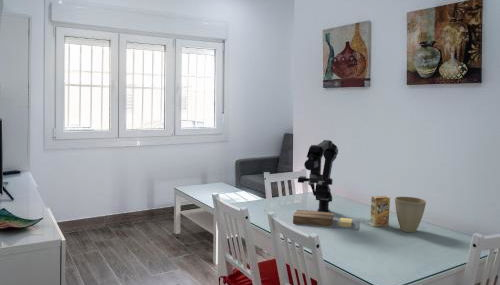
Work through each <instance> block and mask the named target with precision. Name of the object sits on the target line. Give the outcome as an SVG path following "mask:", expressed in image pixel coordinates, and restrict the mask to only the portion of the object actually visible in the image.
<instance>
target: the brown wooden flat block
mask: <svg viewBox="0 0 500 285" xmlns="http://www.w3.org/2000/svg"><path fill="white" fill-rule="evenodd" d="M292 216H293V217H292V224H297V225H308V226H315V227H316V226H319V227H328V228H332V227H333V223H334V218H335V216H334V212H330V211H329V212H321V211H318V210H316V211H314V210H305V209H296V211H295V212H294V214H293V215H292Z"/></svg>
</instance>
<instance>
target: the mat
mask: <svg viewBox="0 0 500 285" xmlns="http://www.w3.org/2000/svg"><path fill="white" fill-rule="evenodd" d="M339 221H340V218H339V219H338V218H333V223H332V227H331V228H334V229H342V230H352V231H353V230H354V231H359V229H360V221H358V220H352V224H351V227H346V226H339Z"/></svg>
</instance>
